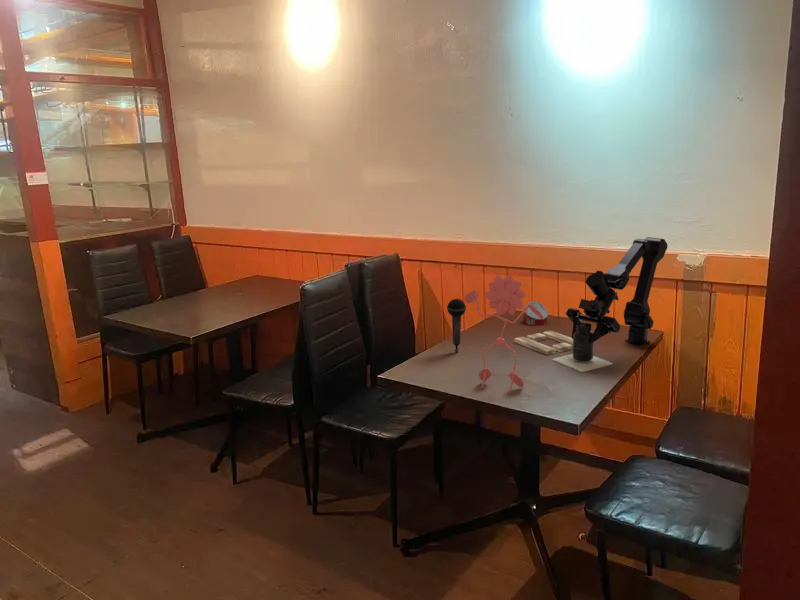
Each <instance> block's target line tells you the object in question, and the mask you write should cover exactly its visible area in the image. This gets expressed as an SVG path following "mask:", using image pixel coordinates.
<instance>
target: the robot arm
mask: <svg viewBox="0 0 800 600" xmlns="http://www.w3.org/2000/svg"><path fill="white" fill-rule="evenodd" d="M667 250H668V243H667V242H666V240H665V239H664V238H659V237H658V238H657V237H649V236H648V237H646V238H644V239H643V238H636V239H634V240H633V242H632V245H631V246H630V247H629V249H628V250H627V252H625V254H624V256H623V257H622V258H621V260H620V261H619V262H618V263H617V264H616V265H615V266H612V267H610V268H609V269H608V270H607V271H606V272H605V273H604V272H603V270H596V272H594V273H591V274H589V276H587V277H586V280H585V284H586V285H587V287H588V288H589V290H590V291H591V293H592V294H593V295H594V296H595V297H594V299H591V300H588V299H585V298H581V299H580V301H579V305H578V309H577V308H573V307H569V308H567V310H566V312H565V315H566V316H567V317H568V319H569V320H570V321H571V323H572V330H571V331H572V332H571V338H572V339H573V334H574V332H576V331H577V330H576V328H577V324H578V323H584V322H587V323H592V324H593V323H594V324H596V327H595V329H594V332H592V333H593V335H592V336H591V338H590V340H589V343H590V344H592V343H593V342H594V343H595V342H596V341H597V340H599V339H601V338H602V337H604V336H606V335H607V334H611V333H615V334H618V333H619V332H620V330H621V324H619V322H618V320H617V319H616V318H615V317H612V316H608V315H609V314H610V312H611V310H610V307H611V305H612V304H613V302H614V300H615V301H618V300H619V296H618V292H617V291H621V290H623V291H624V289H625V288H626V286H627V285H628V283H629V281H630V274H631V272H632V270H633V269H634V268H635V266H636V265H637V264H638V262H639V261H640V259H641V258H642V263H641V268H640V271H639V276H638V279H637V283H636V287H635V291H634V296H633V298H632V299H631V300H630V301H627V302H626V304H625V307H624V311H623V319H624V325H625V326H629V328H628V329H629V330H628V335H627V337H628V338H626V339H624V341H625V342H628V343H631V344H633V345H637V346H641V345H645V344H649V343H651V340H649V339H648V332H649V331H648V330H651V329H652V328H653V326H654V323H655V321H654V320H653V319H652V317H651V314H650V312H651V309H650V305H649V302H648V301H649V297H650V292H651V289H652V285H653V282H654V277H655V273H656V270H657V265H658V263H659V262H660V261H661V260H662V259H663V258H664V256H665V254H666V252H667ZM614 289H615V290H617V291H615V290H614ZM580 309H582V310H583V311H582V312H583V313H584V314H582V312H581V310H580ZM607 314H608V315H607Z"/></svg>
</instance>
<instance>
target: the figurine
mask: <svg viewBox="0 0 800 600" xmlns="http://www.w3.org/2000/svg"><path fill="white" fill-rule="evenodd" d="M521 286H522V282H521V281H519V280H513V276H512V275H507V276H505V278H502V276H501V275H499V274H498V275H497V274H496V276H495V277H494V280H493V281H490V282H489V283H488V287H489V291H486V292H485V293H484V297H485V298H486V299H487V300H488V301H490V302H489V308H491V309H496V314H481V311H480V306H479V300H478V298H479V292H478V291H477V290H476V289H474V290H470V291H468V292H467V293H466V294H465V296H464V301H465V304H467V305H469V304H471V303H473V302H474V303H476V308H477V312H478V313H477V314H478V315H479V316H478V317H496V318H499V319H500V320H501V321H502V322H504V325H503V327H502V331H501V334H500V337H498V338H496V341H495V342H494V343H491V344H489V345H488V346H486V347H484V348H482V349H481V352H482V360H483V366H484V368H482V369H480V371H479V373H478V376H479V377H478V378H479V379H480V380H481V381H482V384H481V389H482V390H483V389H484V385H485V382H486V381H487V380H489V379H490V378H491V376H492V372H491V369H490V368H488V367H486V360H485V353H484V351H485V350H486V349H488V348H490V347H492V346H494V345H495V344H496V345H497V346H499V347H503V346H504V345H505V346H506V347H508V348H509V350H511V351H512V352H513V353H514V354H515V355H514V365H513V372H509V374H504V375H505V376H507V377H509V378H510V385H509V386H510V387H509V391H508V394H512V389H513V385H514V384H515V385H516V386H518V387H520V388H522V389H523V387H524V381H523V378H521V377H520V376H519V375H518V374H516V363H517V352H516V351H515V350H514V349H513V348H511V347H510V346H509V345H508V344H507V343H506V340H505V339H504V337H503V335H504V331H505V329H506V326H507V324H508V323H510V324H512V325H514V324H515V323H517V321H518V320H519V319H520V318H521V316H523V315H524V314H525V313H526V312H525V311H526V309H527V308H528V307H529V308H530V309H531V311H532V312H533V313H535V314H536V315H537V316H538V317H540V318H541V319H542V320H544V318H543V315H542V314H541V313H540V312H539V311H538V310H537V309H536V308H535V307H534V306H532V305H531V304H530V303H529V302H528V303H527V304H528V305H527V304H526V305H527V307H526V308H525V307H524V304H523V300H522V299H524V298H526V293H525V292H524V291H523V290H522V289H520V288H521ZM523 308H524V309H523ZM517 309H522V311H521V312H520V313H519V315H518V316H517V317H516V318H515V319H514V321H512V320H510V319H507V318H506V317H503V316H502V315H505V314H506V312H507V313H508V314H509V315H510V316H515V313H516V312H517ZM507 322H508V323H507ZM505 376H504V377H505ZM530 397H531V395H529V396H527V398H530Z"/></svg>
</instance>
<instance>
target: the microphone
mask: <svg viewBox="0 0 800 600" xmlns="http://www.w3.org/2000/svg"><path fill="white" fill-rule="evenodd" d="M466 306H467V305H466V303H465V302H464V301H463V300H462V299H459V298H453V299H451V300H449V302H448V304H447V306H446V310H447V313H448V314H449V315H450V316H451V322H452V323H451V326H452V344H453V345H454V346H455V349H454V352H455V353H459V348H458V346H459V345H460V344H461V329H462V328H461V327H462V316H463V315H464V314H465V312H466V310H467V307H466Z"/></svg>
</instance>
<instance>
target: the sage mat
mask: <svg viewBox="0 0 800 600" xmlns="http://www.w3.org/2000/svg"><path fill="white" fill-rule="evenodd" d="M552 361H554V362H556V363H558V364H561V365H563V366H565V367H567V368H569V369H572V368H573V369H572V370H575V371H577V372H580V373H586V372H588V371H593V370H597V369H600V368H604V367H608V366H612V365H613V362H611V361H609V360H606V359H604V358H600V357H598V356H595V355H593V359H592V360H590V361H579V360H575V359H574V358H573V353H571V354H567V355H566V354H565V355H562V356H558V357H555V358H552Z"/></svg>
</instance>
